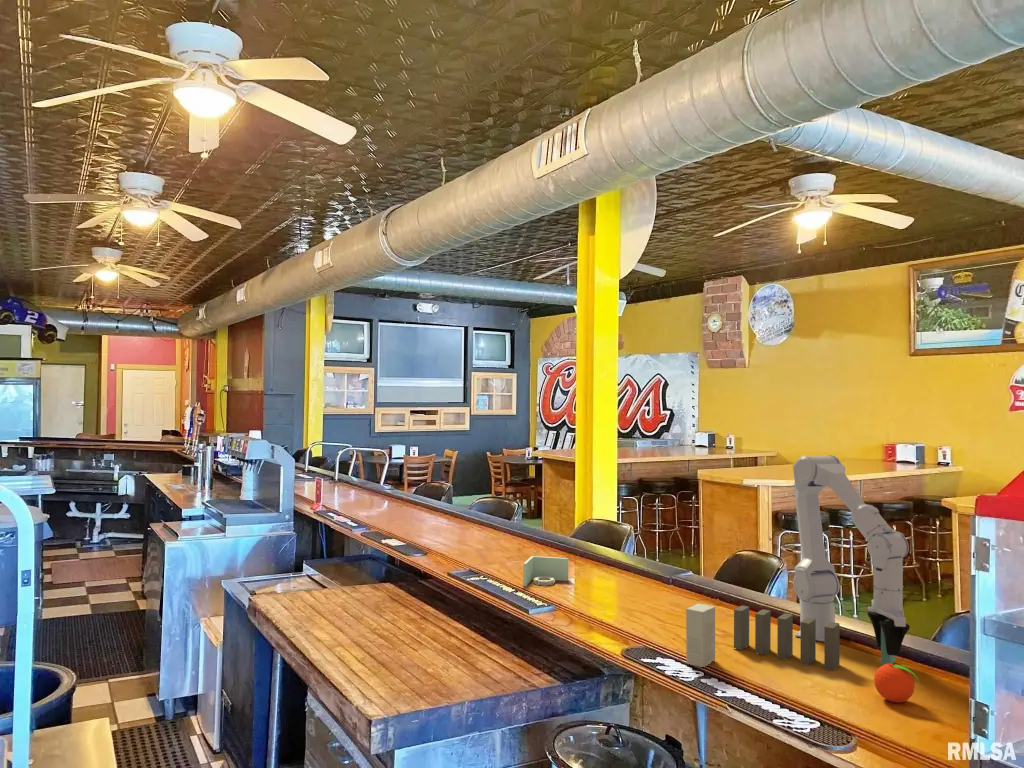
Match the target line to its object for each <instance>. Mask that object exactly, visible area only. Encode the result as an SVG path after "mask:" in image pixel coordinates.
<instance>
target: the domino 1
mask: <svg viewBox="0 0 1024 768" xmlns="http://www.w3.org/2000/svg"><path fill="white" fill-rule="evenodd" d="M748 645H749V646H750V606H747V605H740V606H738V607H736V608H735V609H734V610H733V649H734V648H736V649H741V650H742V649H743V648H745V647H746V646H748ZM749 646H748V647H749ZM746 648H747V647H746ZM746 648H745V649H746ZM736 649H735V650H736ZM741 650H740V651H741ZM743 650H744V649H743ZM743 650H742V651H743Z"/></svg>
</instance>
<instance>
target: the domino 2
mask: <svg viewBox="0 0 1024 768" xmlns="http://www.w3.org/2000/svg"><path fill="white" fill-rule="evenodd" d="M771 613H772V612H771V610H770V609H762V608H761V610H759V611H758V612H757V611H756V613H755V616H754V617H755V618H754V620H755V621H754V622H755V623H754V624H755V625H754V626H755V628H754V631H755V632H754V633H755V634H754V636H755V637H754V640H755V641H754V643H755V645H754V648H755V649H754V653H758V654H757V655H759V654H762V655H761V656H764V655H766V654H767V653H768V652H770V651H771V634H772V633H771V627H772V626H771V625H772V624H771V620H772V619H771V617H772V615H771ZM769 650H770V651H769ZM765 653H766V654H765Z"/></svg>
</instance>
